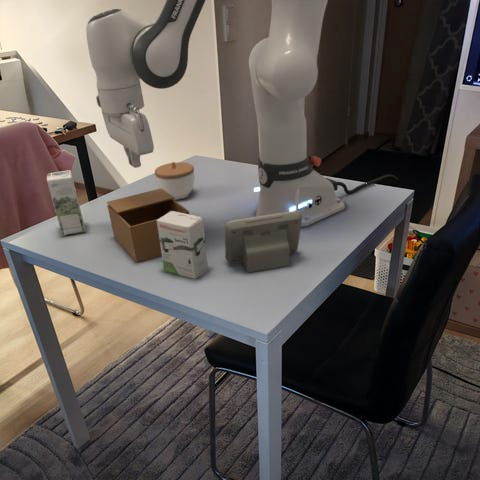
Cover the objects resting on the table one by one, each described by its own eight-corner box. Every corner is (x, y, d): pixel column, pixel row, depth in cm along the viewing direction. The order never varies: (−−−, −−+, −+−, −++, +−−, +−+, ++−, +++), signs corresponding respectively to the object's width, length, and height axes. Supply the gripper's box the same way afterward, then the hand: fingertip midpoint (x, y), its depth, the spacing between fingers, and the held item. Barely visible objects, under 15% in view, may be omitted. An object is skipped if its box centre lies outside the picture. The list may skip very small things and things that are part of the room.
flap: (107, 203, 123) (106, 201, 122) (161, 189, 128) (161, 188, 127) (117, 213, 117) (117, 212, 117) (174, 199, 122) (174, 197, 122)
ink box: (162, 271, 112) (154, 219, 105) (177, 261, 115) (169, 210, 108) (196, 279, 107) (188, 226, 101) (209, 269, 111) (203, 216, 104)
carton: (114, 238, 127) (107, 205, 123) (167, 223, 133) (161, 191, 128) (137, 262, 116) (129, 227, 111) (193, 245, 121) (189, 211, 116)
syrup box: (84, 224, 136) (70, 168, 128) (85, 233, 131) (71, 175, 123) (62, 228, 135) (46, 172, 127) (62, 237, 130) (46, 179, 122)
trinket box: (151, 196, 149) (145, 163, 144) (182, 186, 155) (178, 154, 149) (173, 206, 142) (167, 171, 137) (204, 194, 148) (200, 161, 142)
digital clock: (299, 249, 116) (299, 203, 110) (304, 268, 108) (304, 220, 102) (226, 254, 116) (221, 208, 110) (226, 274, 108) (221, 226, 102)
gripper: (154, 104, 103) (166, 173, 111) (120, 91, 119) (133, 152, 126) (123, 111, 101) (138, 181, 109) (93, 96, 116) (108, 159, 124)
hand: (135, 165), depth 118 cm, fingers closed
